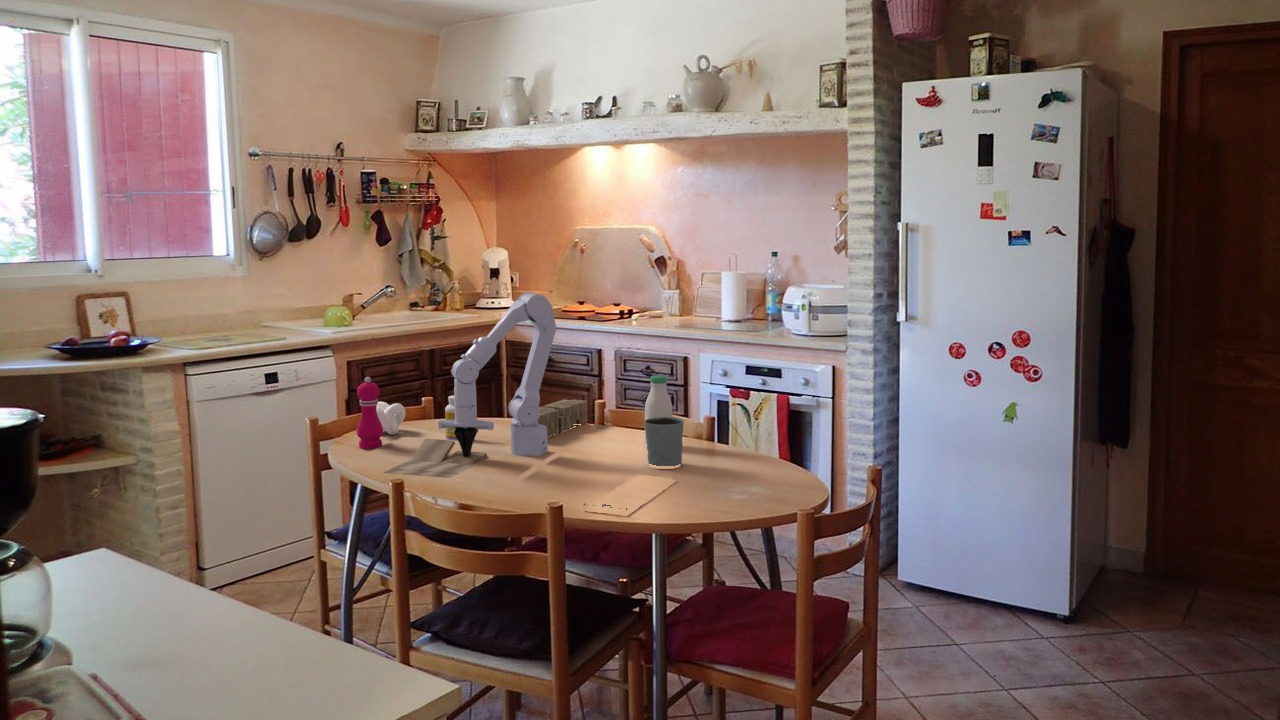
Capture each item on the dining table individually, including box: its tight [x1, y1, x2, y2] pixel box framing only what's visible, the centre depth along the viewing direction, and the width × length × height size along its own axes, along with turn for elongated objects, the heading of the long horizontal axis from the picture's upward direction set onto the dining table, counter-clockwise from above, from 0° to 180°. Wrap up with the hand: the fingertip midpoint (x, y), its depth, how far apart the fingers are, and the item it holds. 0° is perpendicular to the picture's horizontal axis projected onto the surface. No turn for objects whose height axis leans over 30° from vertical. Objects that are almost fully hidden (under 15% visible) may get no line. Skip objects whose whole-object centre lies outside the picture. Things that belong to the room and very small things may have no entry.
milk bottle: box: [644, 374, 673, 445], centre depth 287 cm, size 8×8×20 cm
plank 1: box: [411, 438, 456, 463], centre depth 273 cm, size 8×9×1 cm
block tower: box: [538, 399, 588, 437], centre depth 307 cm, size 8×8×29 cm
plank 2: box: [441, 450, 488, 465], centre depth 271 cm, size 8×9×1 cm
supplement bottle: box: [444, 394, 458, 441], centre depth 296 cm, size 7×7×13 cm
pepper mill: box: [356, 376, 384, 450], centre depth 288 cm, size 7×7×20 cm
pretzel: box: [376, 401, 406, 436], centre depth 307 cm, size 11×12×9 cm
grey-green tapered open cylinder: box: [644, 416, 684, 466], centre depth 267 cm, size 10×10×12 cm
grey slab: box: [383, 459, 474, 479], centre depth 262 cm, size 18×13×1 cm
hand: (466, 455), depth 272 cm, fingers closed, pressing on plank 2
